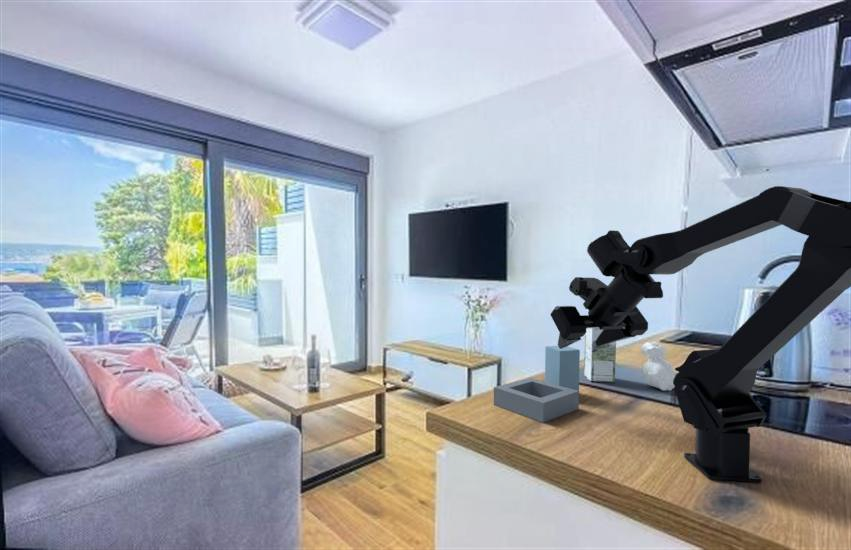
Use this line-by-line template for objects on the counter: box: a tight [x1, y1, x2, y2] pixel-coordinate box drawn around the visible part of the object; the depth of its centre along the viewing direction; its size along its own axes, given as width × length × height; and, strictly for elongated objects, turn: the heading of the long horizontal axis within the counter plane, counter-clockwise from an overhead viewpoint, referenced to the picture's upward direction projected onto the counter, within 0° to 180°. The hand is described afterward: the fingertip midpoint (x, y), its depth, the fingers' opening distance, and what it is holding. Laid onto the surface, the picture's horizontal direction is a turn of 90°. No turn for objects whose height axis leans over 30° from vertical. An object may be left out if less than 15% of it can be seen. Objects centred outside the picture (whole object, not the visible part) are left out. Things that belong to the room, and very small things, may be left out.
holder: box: [493, 377, 580, 424], centre depth 79 cm, size 12×12×4 cm
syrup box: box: [583, 328, 617, 383], centre depth 99 cm, size 6×6×14 cm
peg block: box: [544, 345, 581, 392], centre depth 87 cm, size 5×5×10 cm
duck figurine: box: [640, 341, 676, 392], centre depth 94 cm, size 12×8×11 cm
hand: (578, 345), depth 82 cm, fingers open, 9 cm apart
